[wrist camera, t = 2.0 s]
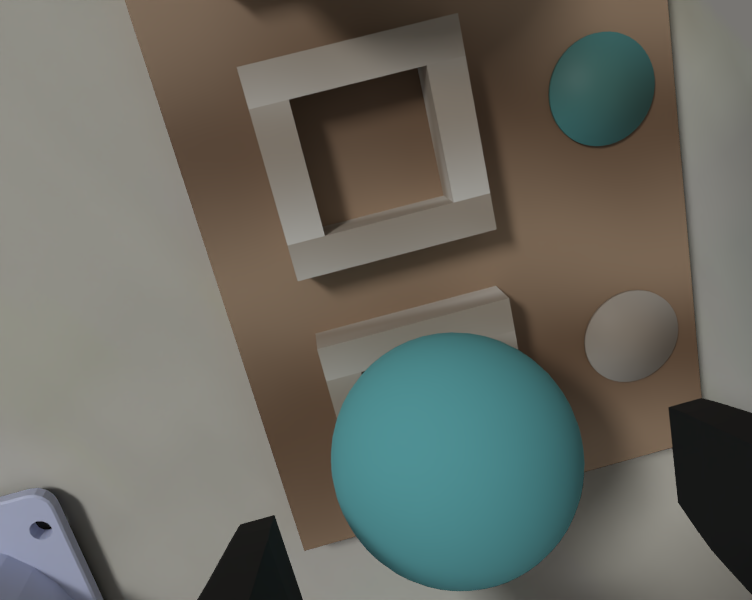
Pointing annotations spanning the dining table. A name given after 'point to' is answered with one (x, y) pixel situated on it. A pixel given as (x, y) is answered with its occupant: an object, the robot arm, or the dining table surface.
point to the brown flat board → (434, 202)
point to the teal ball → (457, 461)
